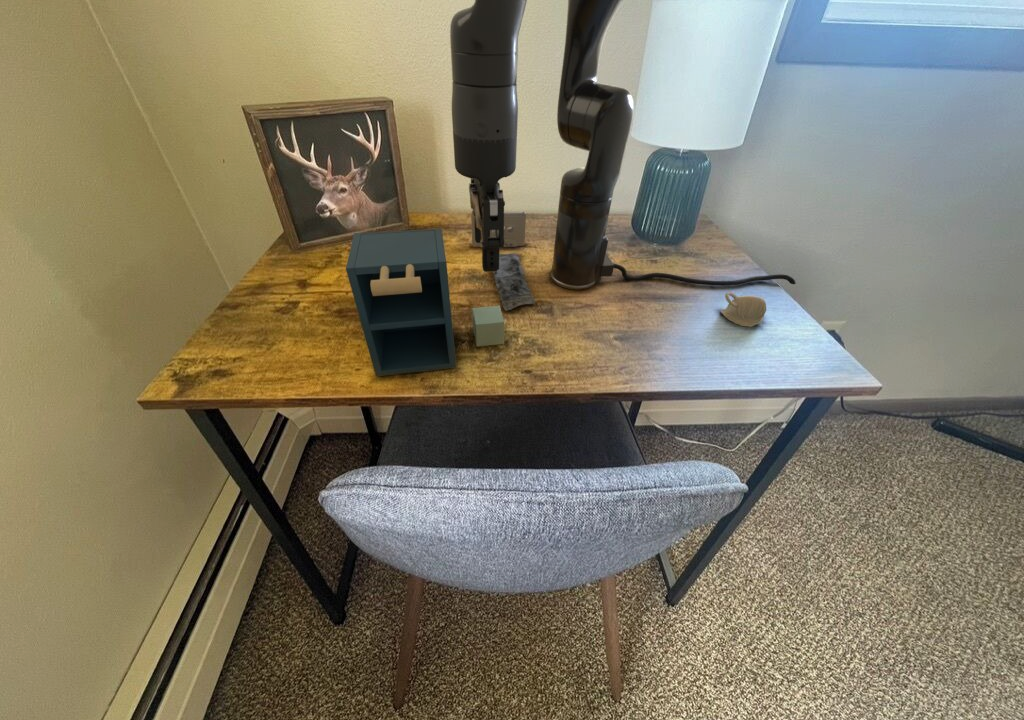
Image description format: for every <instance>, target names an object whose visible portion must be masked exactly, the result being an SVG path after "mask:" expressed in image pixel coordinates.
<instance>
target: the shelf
mask: <svg viewBox="0 0 1024 720" xmlns="http://www.w3.org/2000/svg"><path fill="white" fill-rule="evenodd" d="M443 235H444V234H443V229H442V228H425V229H423V228H422V229H405V230H387V231H386V230H385V231H372V232H371V231H369V232H357V233H356V232H355V233H353V235H352V240H351V244H350V249H349V253H348V257H347V262H346V266H345V270H346V275H347V279H348V282H349V285H350V289H351V293H352V297H353V299H354V303H355V307H356V310H357V314H358V318H359V320H360V325H361V328H362V331H363V335H364V339H365V342H366V343H365V344H366V347H367V349H368V353H369V357H370V361H371V365H372V368H373V371H374V375H375V377H383V376H395V375H402V374H403V375H404V374H412V373H420V372H428V371H429V372H431V371H440V370H447V369H448V370H449V369H456V368H457V361H456V349H455V338H454V327H453V316H452V306H451V298H450V297H451V296H450V285H449V275H448V274H449V273H448V265H447V264H448V263H447V256H446V249H445V241H444V236H443Z"/></svg>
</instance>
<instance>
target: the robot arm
mask: <svg viewBox="0 0 1024 720" xmlns="http://www.w3.org/2000/svg"><path fill="white" fill-rule="evenodd" d="M527 1H528V0H474V3H473V4H472V5H471V6H470V7H467V8H464V9H461V10H459V11H457V12H456V13H455V14H453V16H452V18H451V21H450V24H449V25H450V27H449V44H450V45H449V46H450V60H451V79H452V82H451V83H452V84H451V85H452V87H451V90H452V91H451V120H452V121H451V123H452V140H453V155H454V156H453V157H454V158H453V159H454V169H455V171H456V172H457V173H458V174H459V175H461V176H463V177H465V178H469V179H470V183H468V192H469V203H470V208H471V209H472V210H471V213H472V214H473V216H475V217H474V226H475V241H476V242H477V243H481V244H482V247H481V266H482V270H483V271H484V272H485V273H489V272H493V271H497V270H499V254H500V249H503V248H505V247H504V230H505V226H504V212H505V206H506V202H505V200H504V191H503V189H501V185H500V182H499V181H500V180H502V179H504V178H508V177H510V176H512V175H513V174H514V173H515V172H516V168H517V146H518V145H517V143H518V119H519V103H518V101H519V100H518V89H517V88H518V87H517V86H518V85H517V82H518V63H519V62H518V61H519V60H518V59H519V54H518V52H519V36H520V32H521V31H520V30H521V26H522V22H523V19H524V16H525V15H524V14H525V11H526V6H527V3H528V2H527ZM623 2H624V0H567V12H566V14H567V15H566V28H565V41H564V49H563V59H562V67H561V75H560V84H559V90H558V100H557V111H556V123H557V130H558V134H559V137H560V139H561V140H562V142H563V143H565V144H566V145H568V146H570V147H573V148H576V149H579V150H583V151H586V152H588V155H587V160H586V163H585V166H583V167H577V168H572V169H569V170H567V171H566V172H564V173H563V175H562V177H561V181H560V189H559V200H558V209H557V218H556V226H555V236H554V246H553V253H552V256H553V257H552V264H551V272H550V278H551V279H550V280H552V282H553V283H554V284H556V285H557V286H559V287H561V288H564V289H569V290H577V291H578V290H587V289H589V288H592V287H593V286H595V285H599V284H600V283H601V279H602V277H612V276H613V272H614V270H615V269H616V270H619V272H621V275H622V276H621V277H622V278H623V279H625V280H627V281H643V280H648V279H653V278H660V279H668V280H673V281H677V282H682V283H687V284H694V285H701V286H718V287H719V286H720V287H721V286H722V287H723V286H738V285H739V286H740V285H744V284H747V283H748V284H749V283H752V282H759V281H761V282H763V281H771V280H785V281H787V282H788V283H789V284H790V285H796V280H795V279H794V278H793V276H790V275H788V274H782V273H781V274H780V273H779V274H778V273H777V274H767V275H759V276H758V275H757V276H756V275H755V276H751V277H747V278H746V277H745V278H742V279H736V280H735V279H734V280H708V279H698V278H697V279H696V278H690V277H685V276H680V275H675V274H671V273H666V272H665V273H664V272H651V273H646V274H642V275H641V274H640V275H636V276H635V275H634V276H633V275H630V274H628V273H627V269H626V268H625V267H624V266H623V265H621V264H618V263H615V262H613V261H612V260H611V258H610V257H609V256H608V254H607V248H608V244H609V238H608V237H607V235H606V231H607V226H608V221H609V216H610V211H611V206H612V200H613V195H614V192H615V188H616V185H617V183H618V180H619V178H620V176H621V172H622V168H623V165H624V161H625V160H624V159H625V155H626V151H627V148H628V144H629V140H630V136H631V132H632V127H633V122H634V118H635V117H634V116H635V101H634V96H633V95H632V92H631V91H630V90H629V89H627V88H625V87H621V86H618V85H612V84H607V83H601V82H598V80H599V79H598V78H599V77H598V75H599V68H600V59H601V54H602V47H603V45H604V40H605V38H606V36H607V35H606V34H607V32H608V30H609V27H610V25H611V24H612V21H613V20H614V17H615V16H616V14H617V12H618V11H619V9H620V7H621V5H622V3H623ZM490 230H495V232H496V236H491V237H490Z"/></svg>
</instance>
